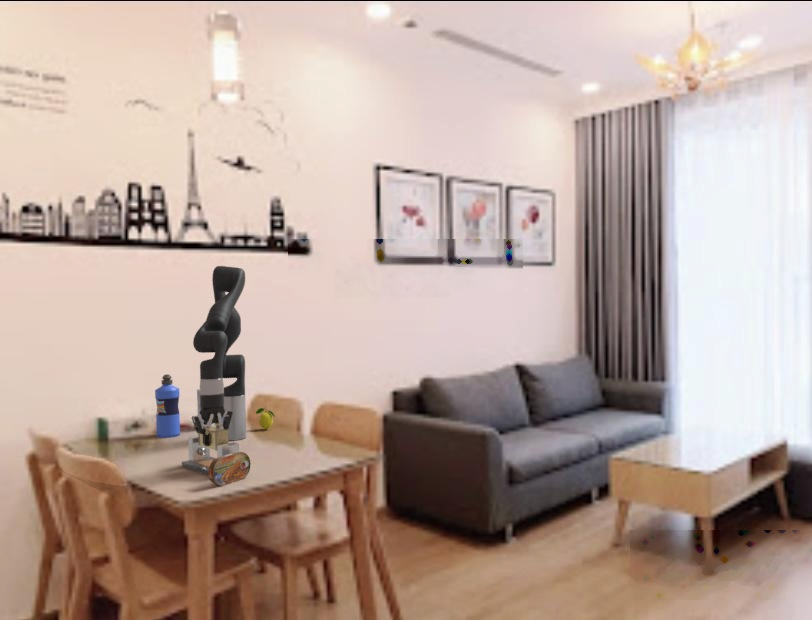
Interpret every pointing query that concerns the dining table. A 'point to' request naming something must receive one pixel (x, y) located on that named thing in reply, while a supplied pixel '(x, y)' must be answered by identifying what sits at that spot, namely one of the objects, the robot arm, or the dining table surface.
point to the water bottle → (167, 409)
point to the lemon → (265, 418)
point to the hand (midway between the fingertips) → (213, 444)
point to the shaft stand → (205, 455)
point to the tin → (229, 468)
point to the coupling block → (214, 437)
